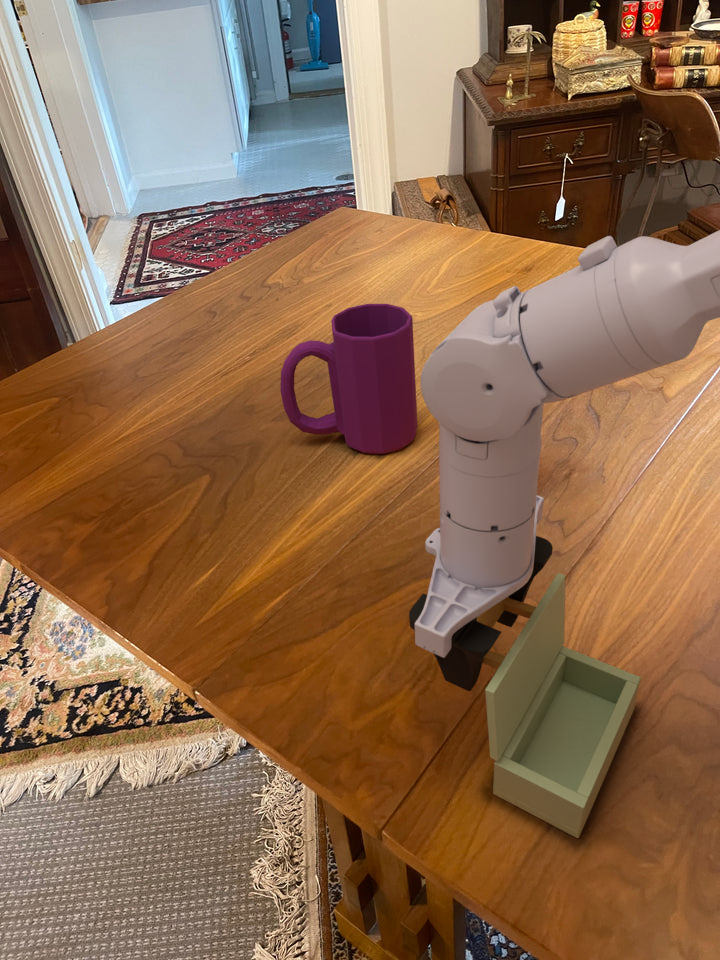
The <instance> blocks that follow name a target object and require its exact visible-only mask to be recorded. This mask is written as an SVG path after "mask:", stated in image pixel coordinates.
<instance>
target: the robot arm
mask: <svg viewBox="0 0 720 960" xmlns="http://www.w3.org/2000/svg"><path fill="white" fill-rule="evenodd" d="M577 261H578V263H579V265H577V266H575V267H572V268H571V269H568V270H567V271H565V272H562V273H561V274H559V275H556V276H554V277H552V278H550V279H548V280H546V281H544V282H542V283H539V284H537V285H535V286H533V287H531V288H528V289H527V290H525V291H523V292H522V291H521V290H520V288H519V287H518V286H517V285H513V286H511V287H508V288H507V289H505V290H503V291H501V292H500V293H499V294H498V295H497V296H495V298H494V299H491V300H488V301H485V302H483V303H481V304H480V305H477V306H476V307H475V308H474V309H473V310H472V311H471V312H470V313H469V314H468V315H467V316H466V317H465V318H464V319H463V320H462V321H460V322H459V324H458V325H457V326H456V327H455V328H454V329H453V330H452V331H451V332H450V333H449V334H448V335H447V336H446V337H445V338H444V339H443V340H442V341H441V342H440V343H439V344H438V345H437V346H436V347H435V349H434V350H433V351H432V352H431V354H430V355H429V357H428V358H427V360H426V361H425V362H424V364H423V367H422V369H421V375H420V390H421V395H422V399H423V401H424V404H425V406H426V408H427V409H428V411H429V413H430V414H431V415H432V417H433V418H434V419H435V420H436V421H437V422H438V424H439V425H438V427H439V438H438V457H439V459H438V462H439V463H438V464H439V466H438V467H439V471H438V473H439V476H438V477H439V527H438V528H436V529H434V530H432V532H431V534H430V535H429V536H428V537H427V538H426V540H425V543H424V547H425V548H424V549H425V551H426V552H427V553H428V554H431V555H433V556H434V557H435V560H434V564H433V568H432V573H431V577H430V582H429V586H428V589H427V594H426V593H422V594H421V595H420V597H419V598H418V599H417V600H416V601H415V602H414V604H413V605H412V607H410V610H409V613H408V621H409V627H410V629H412V630H413V632H414V642H415V643H414V644H415V646H417V647H419V648H422V649H423V650H425V651H427V652H429V653H431V654H433V655H434V657H435V660H436V661H437V664H438V666H439V669H440V671H441V674H442V676H443V678H444V681H446V682H448V683H450V684H452V685H454V686H457V687H458V688H461V689H462V690H465V691H466V692H471V691H473V688H475V685H476V683H477V682H478V680H479V678H480V674H481V671H482V666H483V663H482V662H483V658H484V656H485V655H486V654H487V653H488V652H489V650H490V651H491V650H492V647H493V646H494V645H495V644H496V642H497V640H498V638H499V637H500V636H501V634H502V631H501V630H499V629H497V628H494V627H493V628H492V627H489V626H487V625H484V624H482V623H480V622H477V617H478V616H479V615H481V614H482V613H484V612H485V611H487V610H488V609H490V608H491V607H493V606H494V605H496V604H497V603H499V602H500V601H502V600H503V599H505V598H506V597H508V596H509V598H510V599H513V600H517V601H520V602H523V603H525V600H526V598H527V595H528V592H529V589H530V587H531V585H532V583H533V581H534V579H535V577H536V576H537V575H538V574H539V573H540V572H541V571H542V570H543V569H544V567H545V566H546V564H547V563H548V561H549V560H550V558H551V557H552V555H553V549H554V548H553V544H552V543H551V541H549V540H548V539H546V538H544V537H542V536H538V535H537V529H538V528H537V527H538V525H539V524H540V522H541V521H542V520H543V515H544V503H545V497H543V496H540V495H538V486H539V485H538V483H539V475H540V463H541V454H542V453H541V452H542V443H543V442H542V425H543V416H544V415H543V414H544V404H551V403H558V402H561V401H565V400H567V399H570V398H573V397H577V396H579V395H582V394H583V395H584V394H586V393H588V392H591V391H594V390H597V389H600V388H602V387H607V386H609V385H611V384H615V383H617V382H620V381H623V380H626V379H629V378H633V377H635V376H637V375H642V374H643V373H647V372H649V371H652V370H655V369H658V368H661V367H664V366H667V365H670V364H674V363H676V362H679V361H682V360H684V359H685V358H688V357H689V355H690V354H691V353H692V351H693V350H694V349H695V346H696V345H697V342H698V340H699V338H700V336H701V334H702V331H703V329H704V327H705V326H706V324H707V323H708V322H710V321H712V320H716V319H719V318H720V229H719V230H717V231H715V232H713V233H711V234H708V235H707V236H705V237H703V238H701V239H699V240H697V241H695V242H693V243H691V244H688V245H681V244H677V243H673V242H670V241H666V240H663V239H659V238H656V237H652V236H647V235H642V236H638V237H636V238H632V239H631V240H629V241H626V242H625V243H623V244H621V245H617V244H616V242H615V239H614V238H613V236H612V235H606V236H605V237H603V238H601V239H598V240H597V241H595V242H593V243H591V244H589V245H587V246H586V247H585V248H584V250H583V251H582V252H581V253H580V254H579V256H578V258H577ZM518 617H519V615H517V614H514V613H511V612H508V611H505V610H504V611H503V613H502V614H501V616H500V617H499V619H498V620H497V622H496V623H499V624H500V625H504V626H507V627H508V628H512V627H514V624H515V623H516V621H517V619H518Z"/></svg>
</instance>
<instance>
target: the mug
mask: <svg viewBox="0 0 720 960" xmlns="http://www.w3.org/2000/svg"><path fill="white" fill-rule="evenodd" d="M330 323H331V333H332V340H333V341H332V342H330V343H327V342H323V341H321V340H307V341H304V342H303V341H302V342H300V343H298V344H297V345H296V346H295V347H293V349H292V350H291V351H290V353H289V354H288V355H287V356H286V358H285V359H284V361H283V365H282V367H281V370H280V396H281V401H282V406H283V409H284V412H285V413H286V416H287V418H288V421H289V422H290V423H291V424H292V425H293V426H294V427H296V428H297V429H298V430H299V431H301V432H302V433H307V434H311V435H331V434H334V433H340V434H342V435H343V436H344V442H345V444H346V445H347V447H349V448H351V449H353V450H356V451H358V452H360V453H363V454H375V455H376V454H377V455H380V454H381V455H384V454H388V453H392V452H395V451H399V450H401V449H403V448H405V446H407V445H409V444H410V443H411V442H413V441H414V440H415V438H416V434H417V430H418V407H417V405H418V404H417V387H416V386H417V384H416V383H417V382H416V367H415V345H414V344H415V343H414V323H413V316H412V315H411V313H409V311H408V310H406V309H405V308H404V307H401V306H397V305H395V304H394V305H393V304H390V303H363V304H360V305H355V306H351V307H346V308H345V309H344V310H342V311H340V312H337V313H336V314H334V315H333V316H332V318H331V322H330ZM311 356H312V357H316V358H318V359H320V360H322V361H324V362H326V363H327V369H328V376H329V384H330V391H331V398H332V404H333V412H330V413H328V414H325V415H322V416H320V417H313V416H308V415H306V414H305V413H302V412H301V410H300V408H299V406H298V402H297V395H296V392H295V373H296V370H297V366H298V365H299V363H300V362H301V361H303V360H304V359H305V358H307V357H311Z"/></svg>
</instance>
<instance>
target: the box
mask: <svg viewBox="0 0 720 960" xmlns="http://www.w3.org/2000/svg"><path fill="white" fill-rule="evenodd" d="M641 680H642V677H641V676H639V675H636V674H635V673H632V672H629V671H626V670H624V669H621V668H619V667H617V666H614V665H613V664H609V663H607V662H604V661H602V660H599V659H598V658H597V659H596V658H594V657H591V656H590V655H587V654H585V653H582V652H579V651H576V650H575V649H571V648H569V647H567V646H564V645H563V646H562V648H561V649H560V651H559V653H558V655H557V657H556V658H555V660H554V662H553V664H552V666H551V667H550V669H549V671H548V673H547V675H546V676H545V678H544V680H543V682H542V684H541V685H540V687H539V689H538V691H537V693H536V694H535V696H534V698H533V700H532V702H531V703H530V705H529V707H528V709H527V711H526V712H525V714H524V716H523V718H522V720H521V721H520V723H519V725H518V727H517V729H516V730H515V732H514V734H513V736H512V738H511V739H510V741H509V743H508V745H507V747H506V748H505V750H504V752H503V754H502V755H501V757H500V759H499V761H496V760H494V763H493V785H492V786H493V787H492V788H493V790H492V793H493V795H494V796H497V797H498V798H499V799H502V800H504V801H506V802H507V803H510V804H511V805H513V806H516V807H517V808H519V809H521V810H522V811H525V812H527V813H529V814H531V815H532V816H534V817H536V818H538V819H540V820H542V821H544V822H545V823H548V824H549V825H552V826H553V827H555V828H557V829H559V830H561V831H563V832H565V833H567V834H568V835H570V836H572V837H574V838H576V839H579V838H580V836H581V834H582V831H583V829H584V828H585V825H586V822H587V820H588V817H589V815H590V813H591V810H592V808H593V806H594V803H595V801H596V799H597V797H598V794H599V792H600V789H601V788H602V785H603V783H604V780H605V779H606V776H607V773H608V771H609V769H610V766H611V764H612V762H613V759H614V757H615V754H616V752H617V750H618V748H619V745H620V743H621V741H622V739H623V736H624V734H625V731H626V729H627V727H628V725H629V722H630V721H631V718H632V715H633V713H634V710H635V707H636V702H637V698H638V694H639V689H640V683H641Z"/></svg>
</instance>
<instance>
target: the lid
mask: <svg viewBox="0 0 720 960" xmlns="http://www.w3.org/2000/svg"><path fill="white" fill-rule="evenodd" d="M504 610H505V611H508V612H511V613H514V614H517V615H518V616H520V617H523V618H526V619H528V620H527V621H526V623H525V624H524V626H523V628H522V630H521V631H520V633H519V634H518V636H517V638H516V639H515V641H514V643H513V644H512V646H511V647H510V649H509V651H507V654H506V655H504V654H500V653H498V652H495V651H492V650H491V649H490V650H489V652H488V653H487V654H486V655H485V656H484V658H483V662H482V664H484V665H487V666H488V667H489V666H490V667H491V668H494V669H496V671H495V672H494V675H493V676H492V678H491V679H490V681H489V682H488V684H487V686H486V687H485V689H484V691H485V692H484V694H485V705H486V706H485V707H486V721H487V733H488V747H489V758H490V759H491V760H493V761H499V759H500V757H501V755H502V754H503V752H504V750H505V748H506V747H507V745H508V743H509V741H510V739H511V738H512V736H513V734H514V732H515V730H516V729H517V727H518V725H519V723H520V721H521V720H522V718H523V716H524V714H525V712H526V711H527V709H528V707H529V705H530V703H531V702H532V700H533V698H534V696H535V694H536V693H537V691H538V689H539V687H540V685H541V684H542V682H543V680H544V678H545V676H546V675H547V673H548V671H549V669H550V667H551V666H552V664H553V662H554V660H555V658H556V657H557V655H558V653H559V651H560V649H561V648H562V646H564V644H565V623H566V621H565V620H566V619H565V618H566V617H565V616H566V574H563V573H560V572H557V573H556V575H555V576H554V578H553V579H552V581H551V582H550V585H549V586H548V587H547V589H546V591H545V593H544V594H543V596H542V597H541V599H540V601H538V603H537V605H536V606H534V605H532V604H529V603H525V602H524V603H523V602H520V601H517V600H513V599H510V598H509V596H508V597H506V598H505V599H503V600H502V601H500V602H499V603H497V604H496V605H494V606H493V607H491V608H490V609H488V610H487V611H485V612H484V613H482V614H481V615H479V616H478V617H477V622H480V623H482V624H484V625H487V626H489V627H492V628H494V627H495V625H496V623H498V622H497V620H498V619H499V617H500V616H501V614H502V613H503V611H504Z"/></svg>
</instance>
